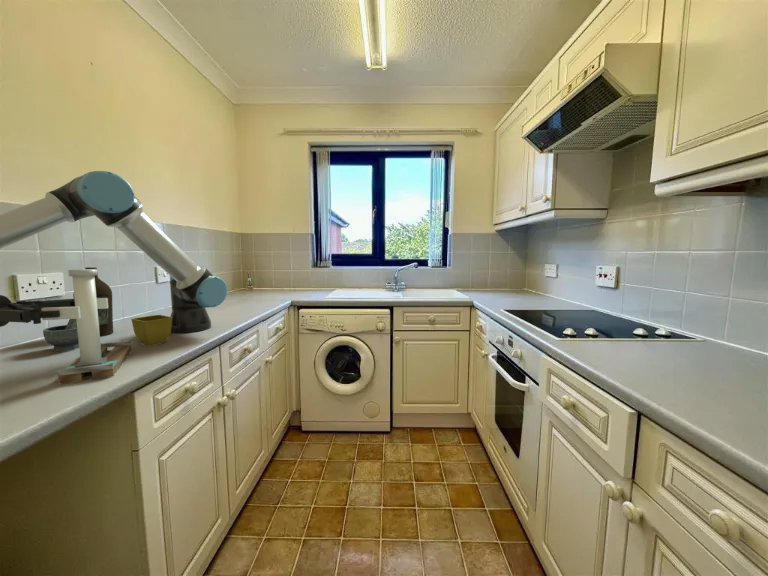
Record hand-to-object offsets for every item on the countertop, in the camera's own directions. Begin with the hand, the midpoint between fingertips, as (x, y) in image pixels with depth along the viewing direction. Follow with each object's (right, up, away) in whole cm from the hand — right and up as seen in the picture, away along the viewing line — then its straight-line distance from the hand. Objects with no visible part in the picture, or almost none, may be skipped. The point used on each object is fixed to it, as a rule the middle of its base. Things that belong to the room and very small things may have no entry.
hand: (94, 307), depth 81 cm
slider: (-2, -15, +1) cm, 15 cm away
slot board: (-6, -16, +8) cm, 19 cm away
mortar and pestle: (-29, -15, +23) cm, 39 cm away
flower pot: (-6, -14, +29) cm, 32 cm away
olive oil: (-34, -13, +39) cm, 53 cm away
